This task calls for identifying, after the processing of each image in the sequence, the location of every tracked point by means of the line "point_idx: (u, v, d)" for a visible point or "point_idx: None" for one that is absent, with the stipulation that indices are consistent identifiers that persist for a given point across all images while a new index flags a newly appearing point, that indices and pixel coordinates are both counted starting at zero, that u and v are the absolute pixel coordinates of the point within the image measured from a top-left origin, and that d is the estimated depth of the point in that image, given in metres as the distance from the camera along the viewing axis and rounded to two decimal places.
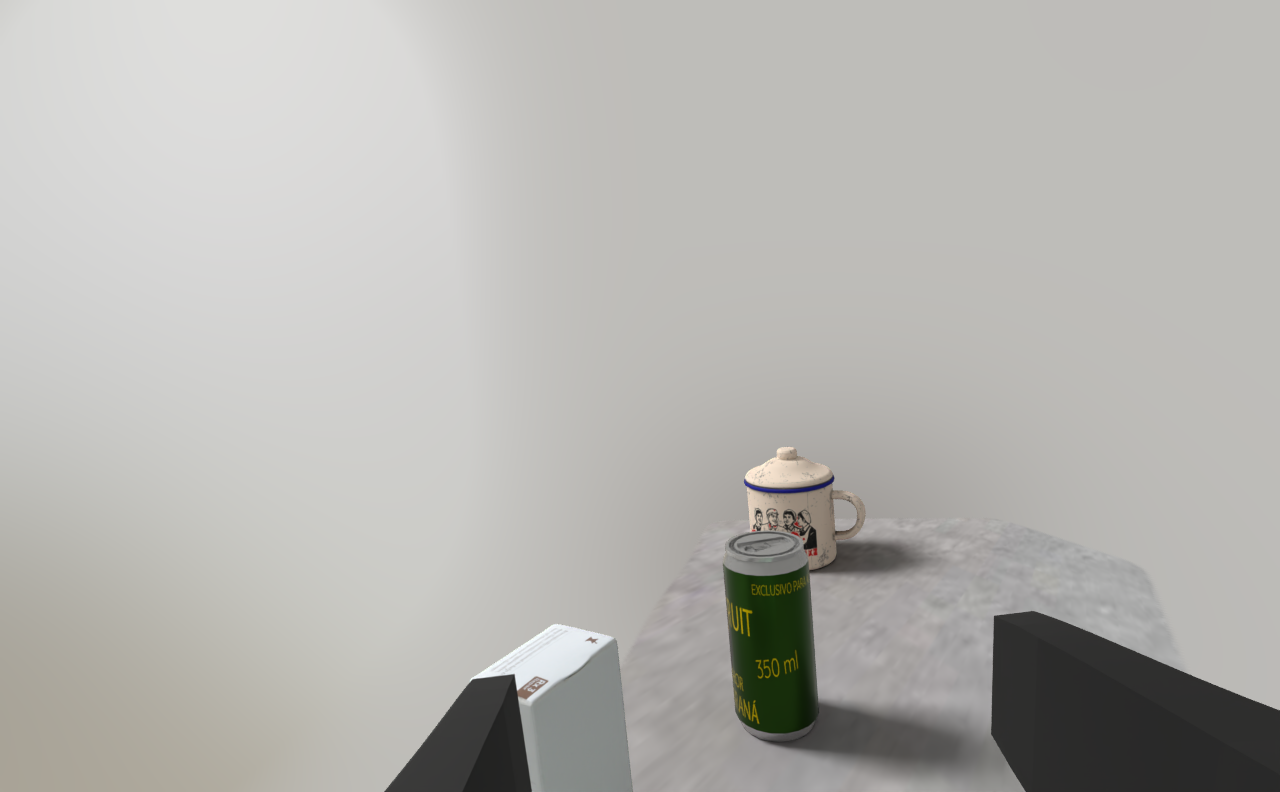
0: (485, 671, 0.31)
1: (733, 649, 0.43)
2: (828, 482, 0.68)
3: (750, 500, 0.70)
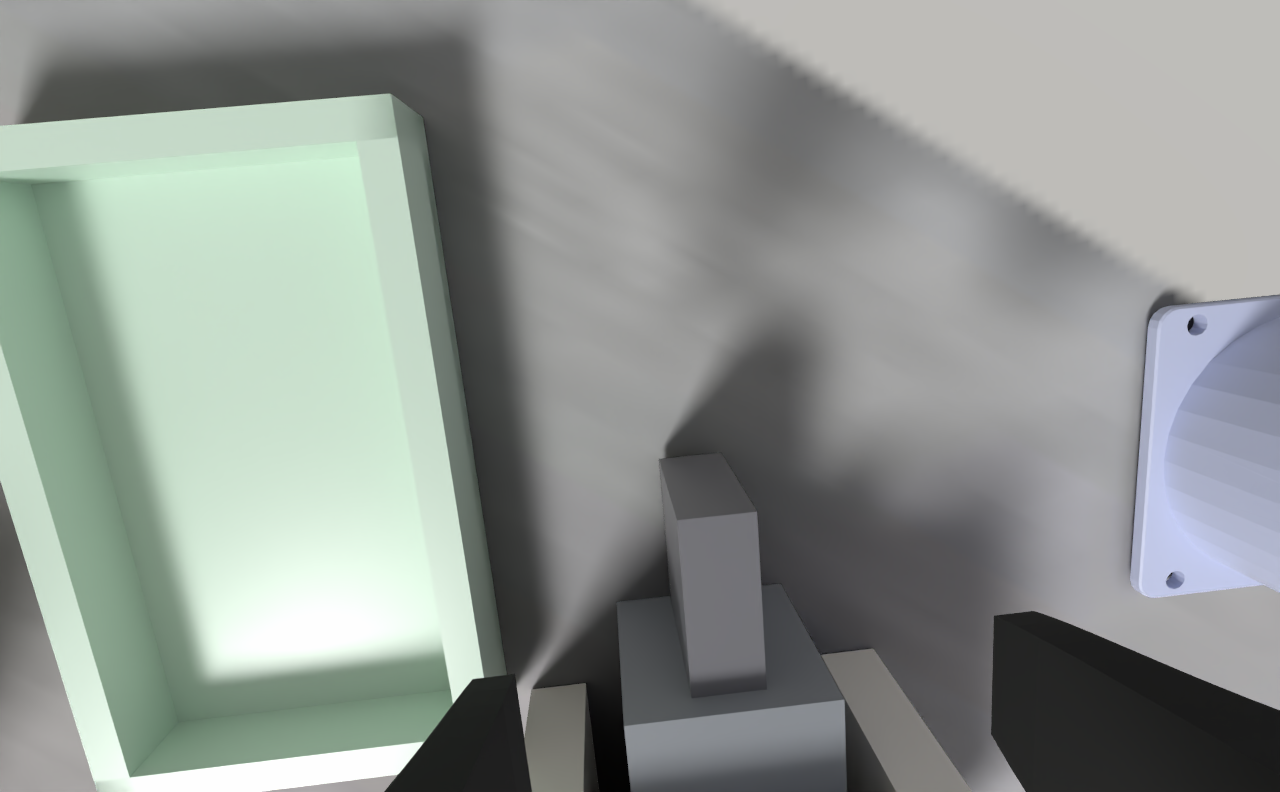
0: None
1: None
2: None
3: None
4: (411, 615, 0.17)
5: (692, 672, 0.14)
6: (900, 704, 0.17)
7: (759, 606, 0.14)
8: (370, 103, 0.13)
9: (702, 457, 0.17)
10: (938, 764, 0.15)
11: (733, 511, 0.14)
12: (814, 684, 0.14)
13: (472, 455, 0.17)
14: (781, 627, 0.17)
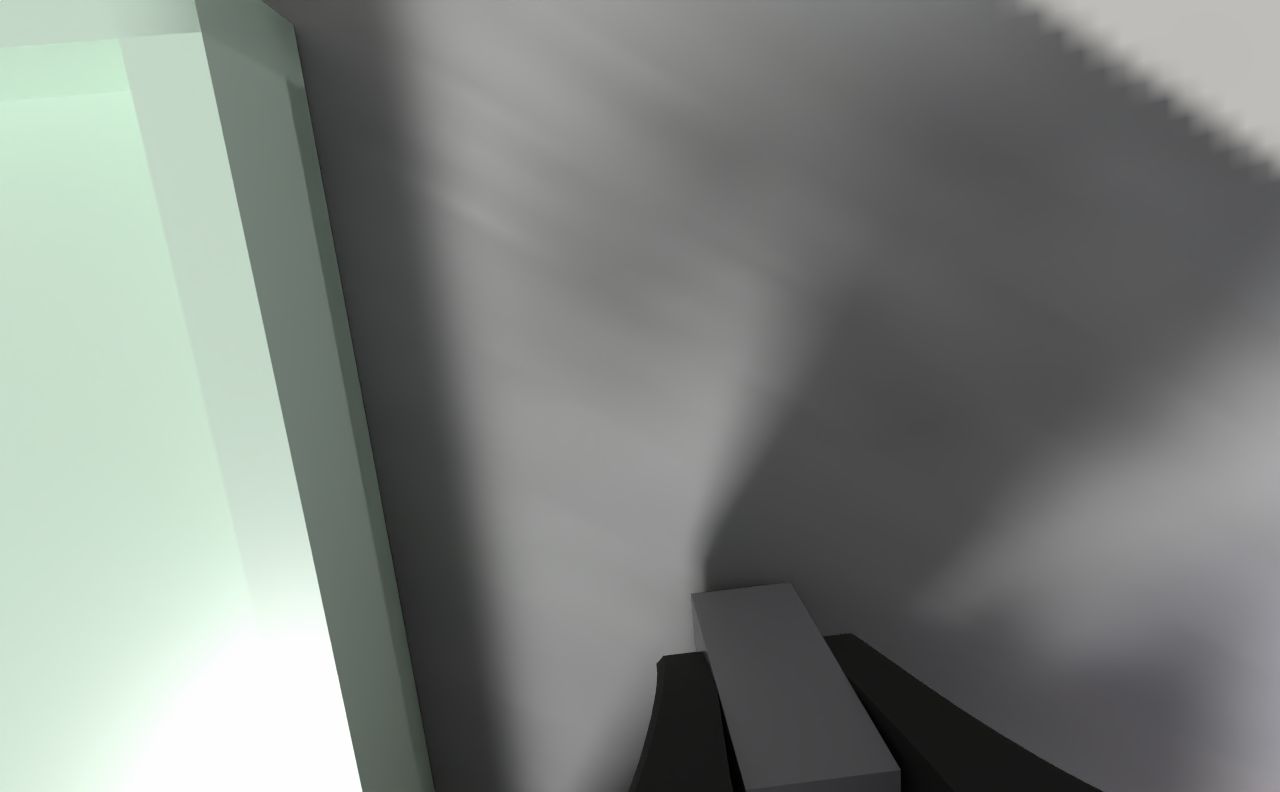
0: None
1: None
2: None
3: None
4: None
5: None
6: None
7: None
8: None
9: (762, 593, 0.11)
10: None
11: (854, 767, 0.07)
12: None
13: (392, 584, 0.11)
14: None
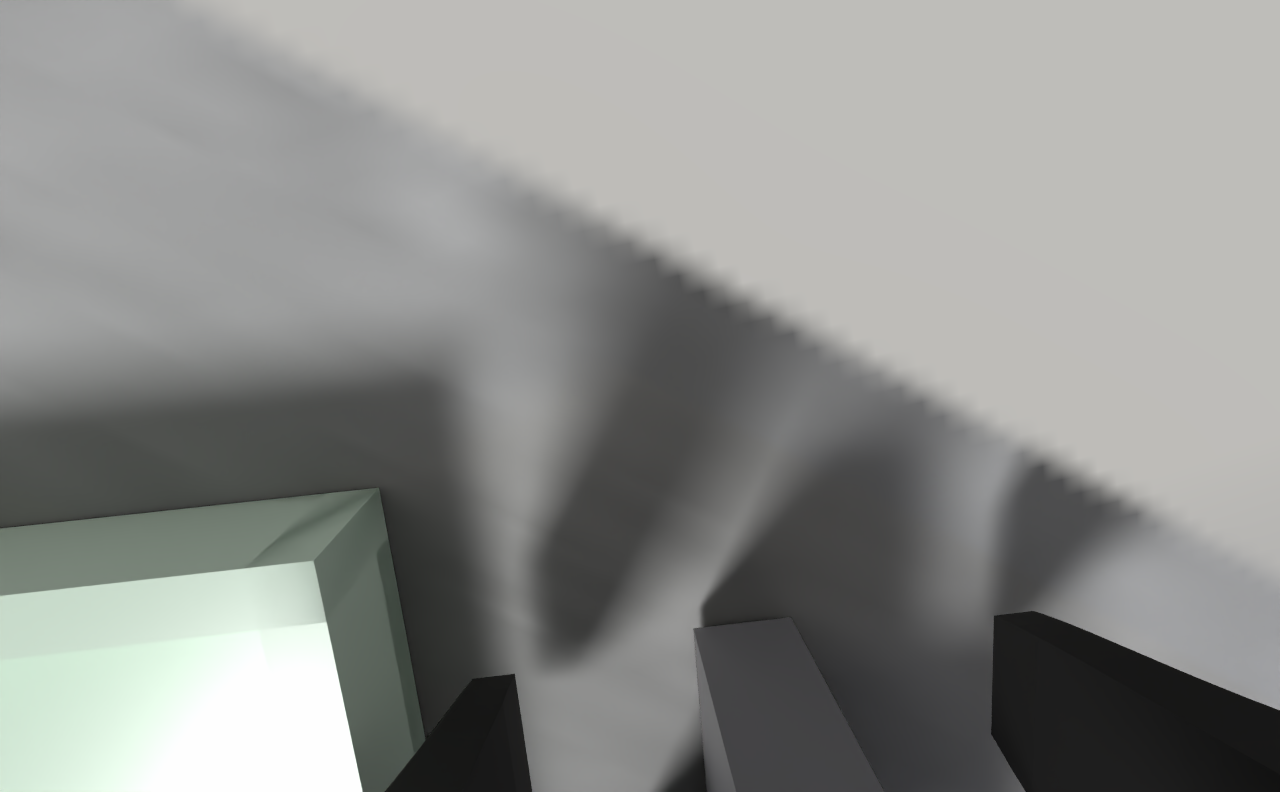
0: None
1: None
2: None
3: None
4: None
5: None
6: None
7: None
8: (280, 578, 0.08)
9: (763, 628, 0.11)
10: None
11: None
12: None
13: None
14: None
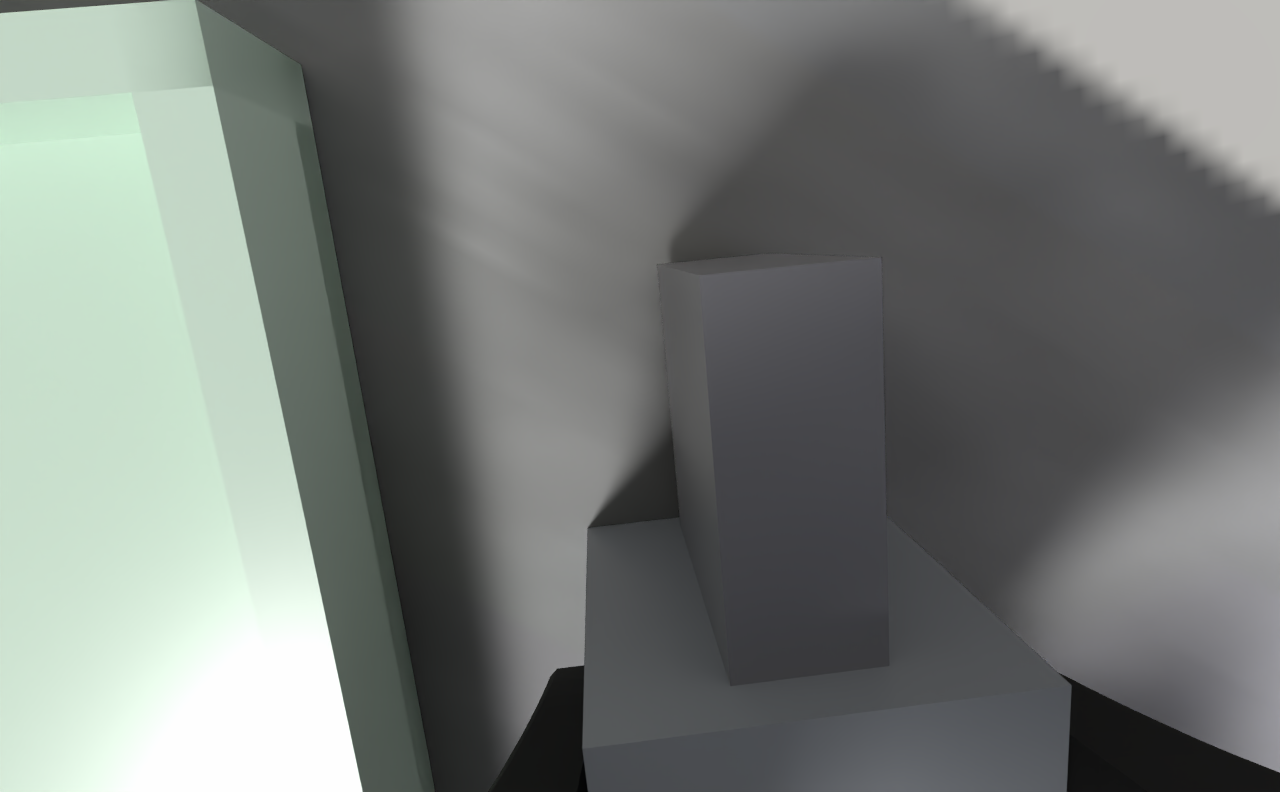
0: None
1: None
2: None
3: None
4: None
5: (732, 630, 0.07)
6: None
7: (879, 483, 0.06)
8: (154, 18, 0.07)
9: (735, 257, 0.10)
10: None
11: (828, 261, 0.06)
12: (989, 655, 0.07)
13: (398, 613, 0.11)
14: (886, 557, 0.09)
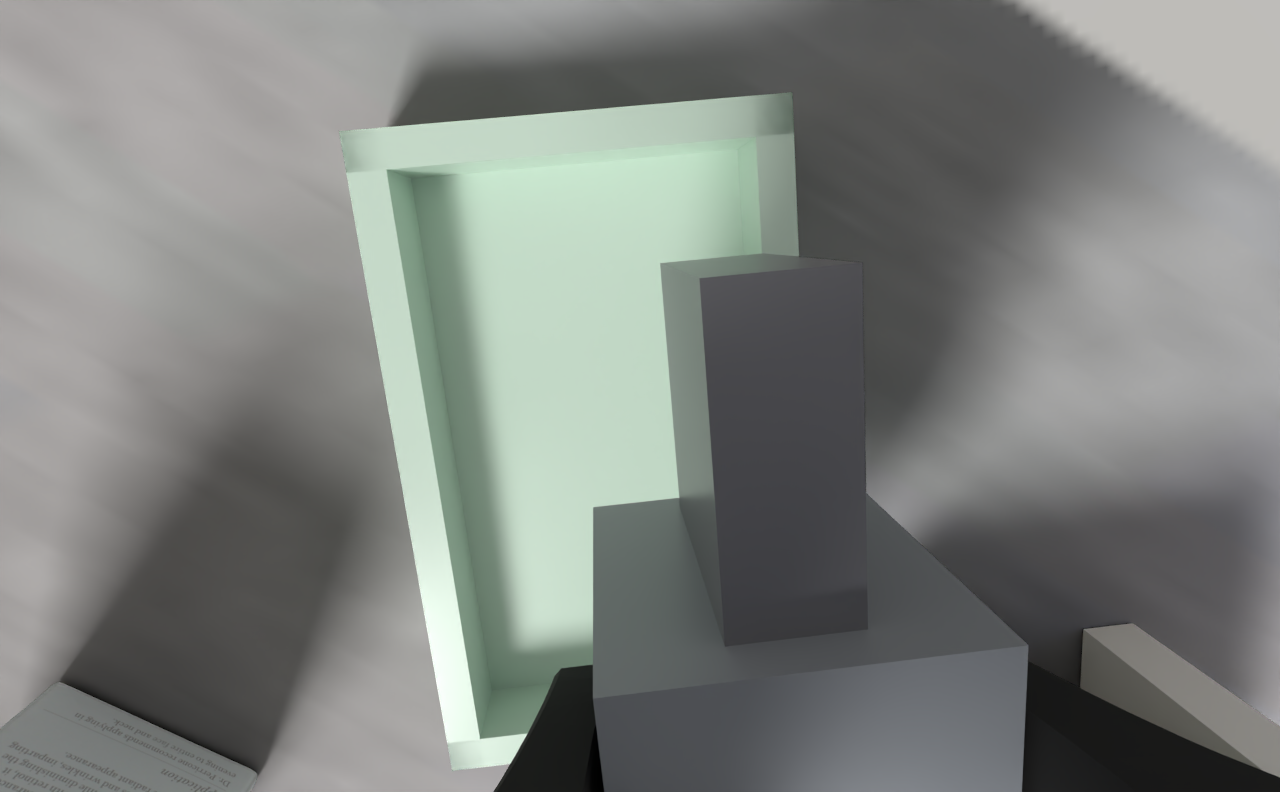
0: None
1: None
2: None
3: None
4: None
5: (727, 596, 0.07)
6: (1192, 673, 0.18)
7: (859, 464, 0.07)
8: (774, 101, 0.14)
9: (733, 257, 0.10)
10: (1264, 726, 0.16)
11: (815, 266, 0.07)
12: (958, 620, 0.08)
13: None
14: (870, 536, 0.10)
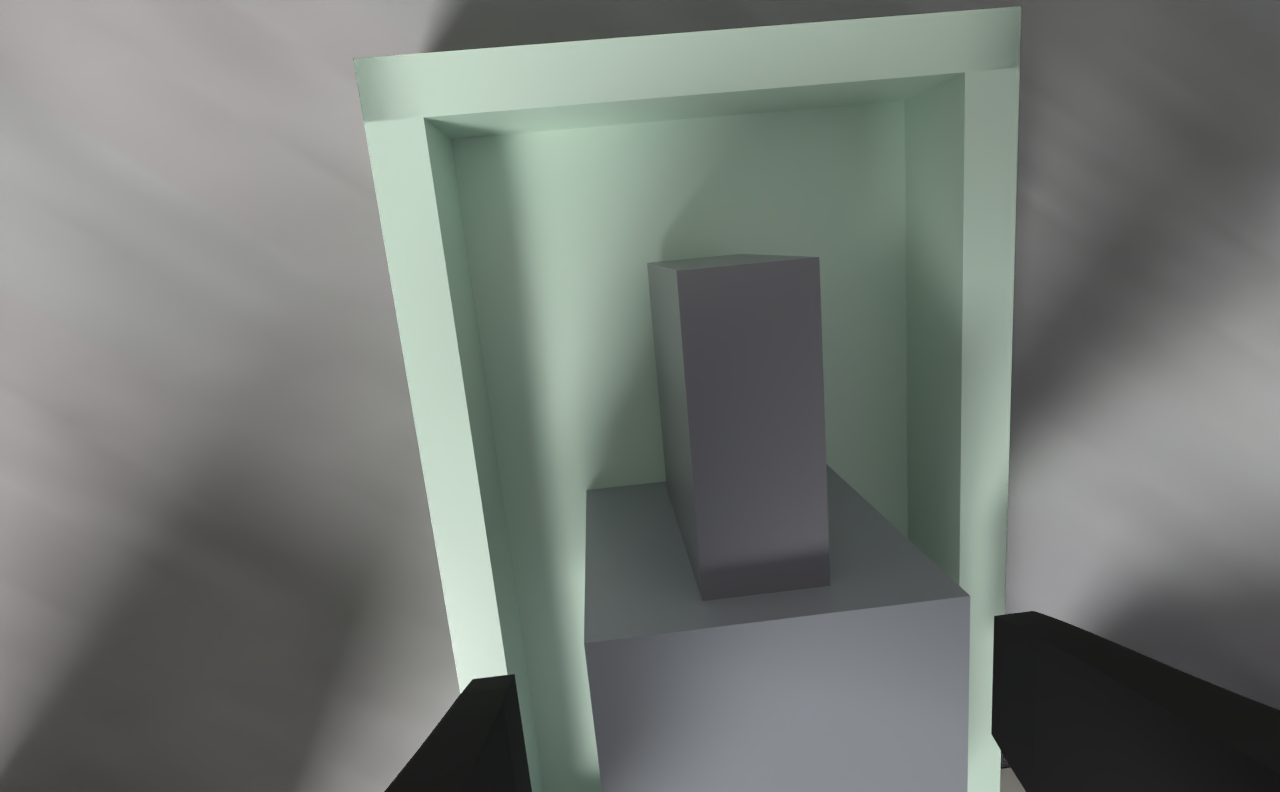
0: None
1: None
2: None
3: None
4: None
5: (703, 555, 0.08)
6: None
7: (820, 436, 0.08)
8: (995, 19, 0.10)
9: (713, 257, 0.11)
10: None
11: (777, 261, 0.08)
12: (910, 577, 0.08)
13: None
14: (838, 511, 0.11)
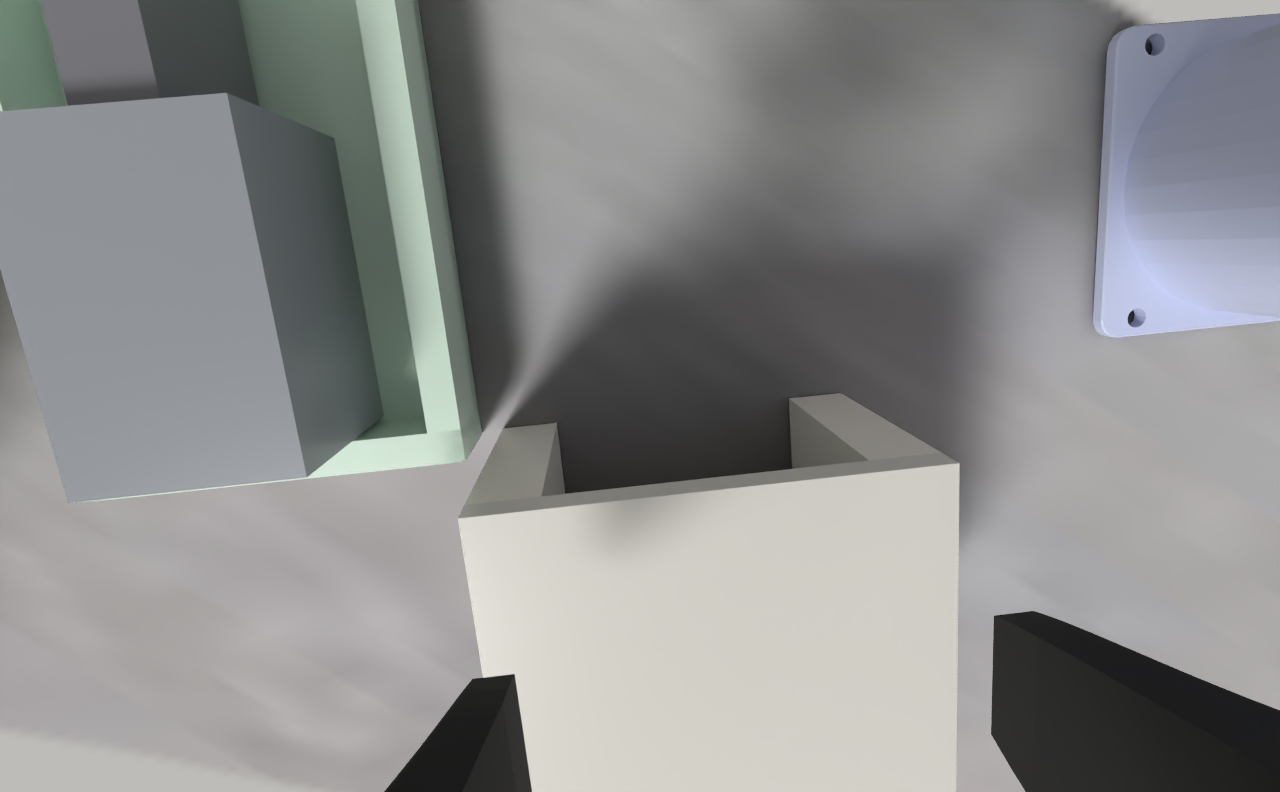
0: None
1: None
2: None
3: None
4: (382, 336, 0.18)
5: (64, 77, 0.12)
6: (863, 413, 0.17)
7: None
8: None
9: None
10: (896, 435, 0.15)
11: None
12: None
13: (442, 171, 0.17)
14: None
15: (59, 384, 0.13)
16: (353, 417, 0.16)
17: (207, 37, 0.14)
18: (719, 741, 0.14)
